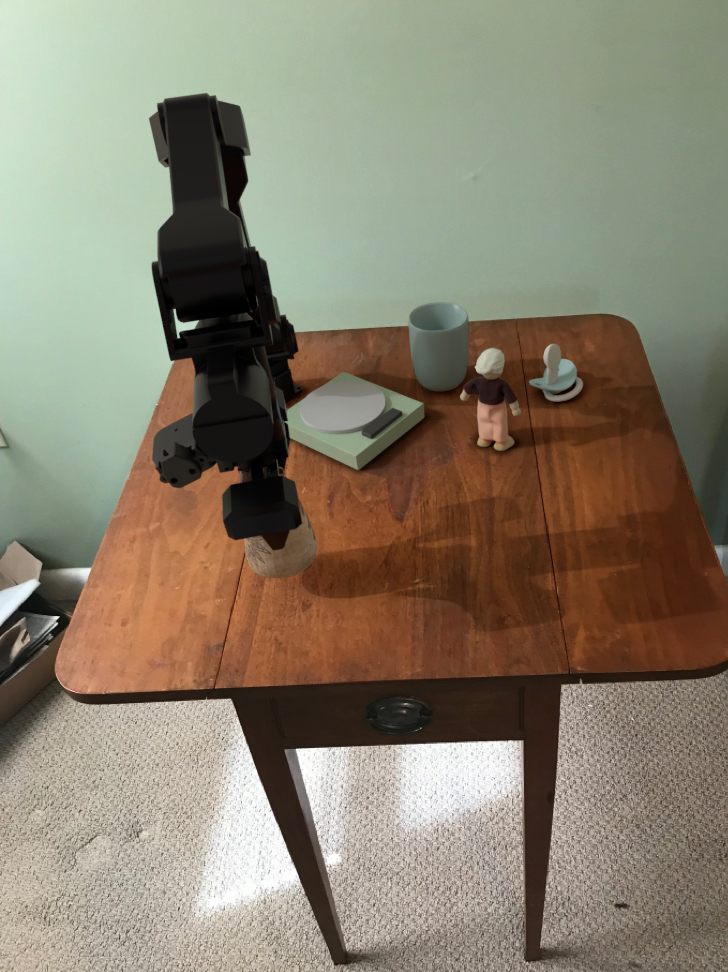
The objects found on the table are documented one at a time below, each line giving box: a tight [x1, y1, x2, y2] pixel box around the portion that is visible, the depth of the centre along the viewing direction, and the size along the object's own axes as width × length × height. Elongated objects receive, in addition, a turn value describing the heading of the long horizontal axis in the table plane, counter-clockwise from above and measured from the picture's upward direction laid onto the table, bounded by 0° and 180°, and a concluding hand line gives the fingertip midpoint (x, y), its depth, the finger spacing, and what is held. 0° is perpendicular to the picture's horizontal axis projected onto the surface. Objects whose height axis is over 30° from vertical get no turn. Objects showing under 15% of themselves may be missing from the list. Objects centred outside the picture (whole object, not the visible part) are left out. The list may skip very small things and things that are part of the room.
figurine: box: [239, 467, 318, 580], centre depth 74 cm, size 7×7×12 cm
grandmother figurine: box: [459, 347, 522, 452], centre depth 90 cm, size 8×4×13 cm, turn 71°
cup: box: [407, 301, 470, 393], centre depth 101 cm, size 8×8×10 cm
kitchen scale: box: [285, 371, 425, 471], centre depth 98 cm, size 14×13×3 cm
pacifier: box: [528, 343, 584, 403], centre depth 99 cm, size 7×6×6 cm
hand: (275, 524), depth 75 cm, fingers closed on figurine, 6 cm apart
